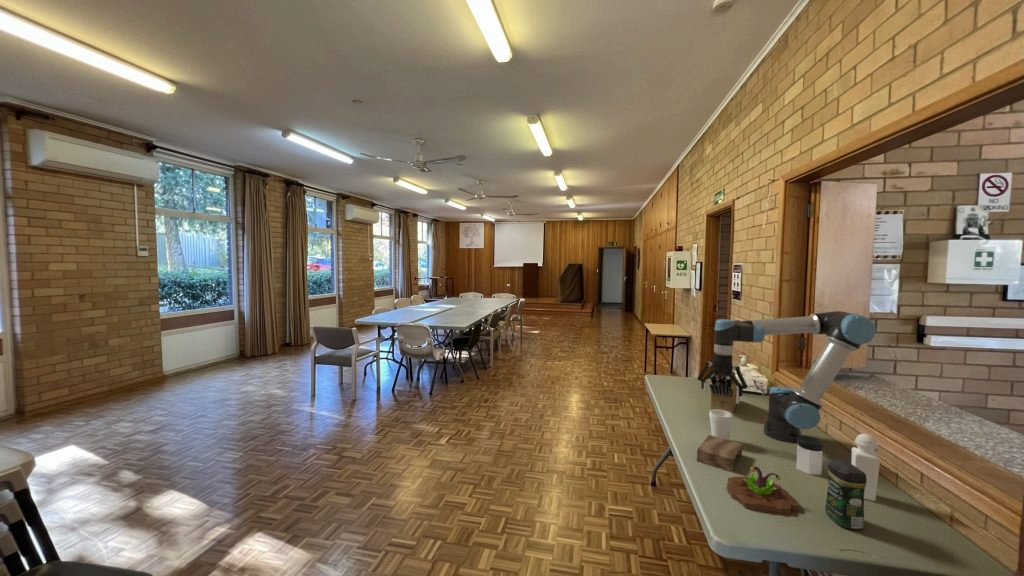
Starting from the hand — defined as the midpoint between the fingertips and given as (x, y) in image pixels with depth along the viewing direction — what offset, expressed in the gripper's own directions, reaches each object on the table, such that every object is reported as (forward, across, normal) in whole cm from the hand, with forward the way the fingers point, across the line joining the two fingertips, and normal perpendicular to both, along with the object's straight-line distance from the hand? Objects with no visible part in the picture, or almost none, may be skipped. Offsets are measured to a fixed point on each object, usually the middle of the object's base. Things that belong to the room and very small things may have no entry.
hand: (720, 399), depth 180 cm
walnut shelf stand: (+20, +4, -18) cm, 27 cm away
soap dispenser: (+19, +49, -14) cm, 55 cm away
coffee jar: (+20, +44, -37) cm, 61 cm away
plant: (+20, +22, -39) cm, 49 cm away
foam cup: (+20, 0, 0) cm, 20 cm away
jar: (+19, +33, -5) cm, 39 cm away
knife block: (+20, -9, +48) cm, 53 cm away
